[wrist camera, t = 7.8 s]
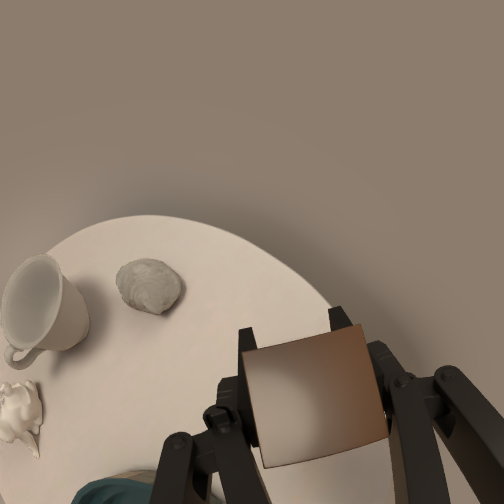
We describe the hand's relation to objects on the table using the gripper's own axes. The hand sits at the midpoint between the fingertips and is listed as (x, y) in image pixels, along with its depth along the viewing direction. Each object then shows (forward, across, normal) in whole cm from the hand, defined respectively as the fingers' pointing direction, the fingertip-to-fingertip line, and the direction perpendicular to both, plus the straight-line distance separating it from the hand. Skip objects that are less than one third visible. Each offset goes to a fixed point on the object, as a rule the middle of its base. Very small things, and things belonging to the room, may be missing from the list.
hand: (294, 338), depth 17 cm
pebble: (+19, -15, -2) cm, 25 cm away
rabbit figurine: (+8, -39, -13) cm, 42 cm away
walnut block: (0, 0, -5) cm, 5 cm away
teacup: (+17, -29, -5) cm, 34 cm away
